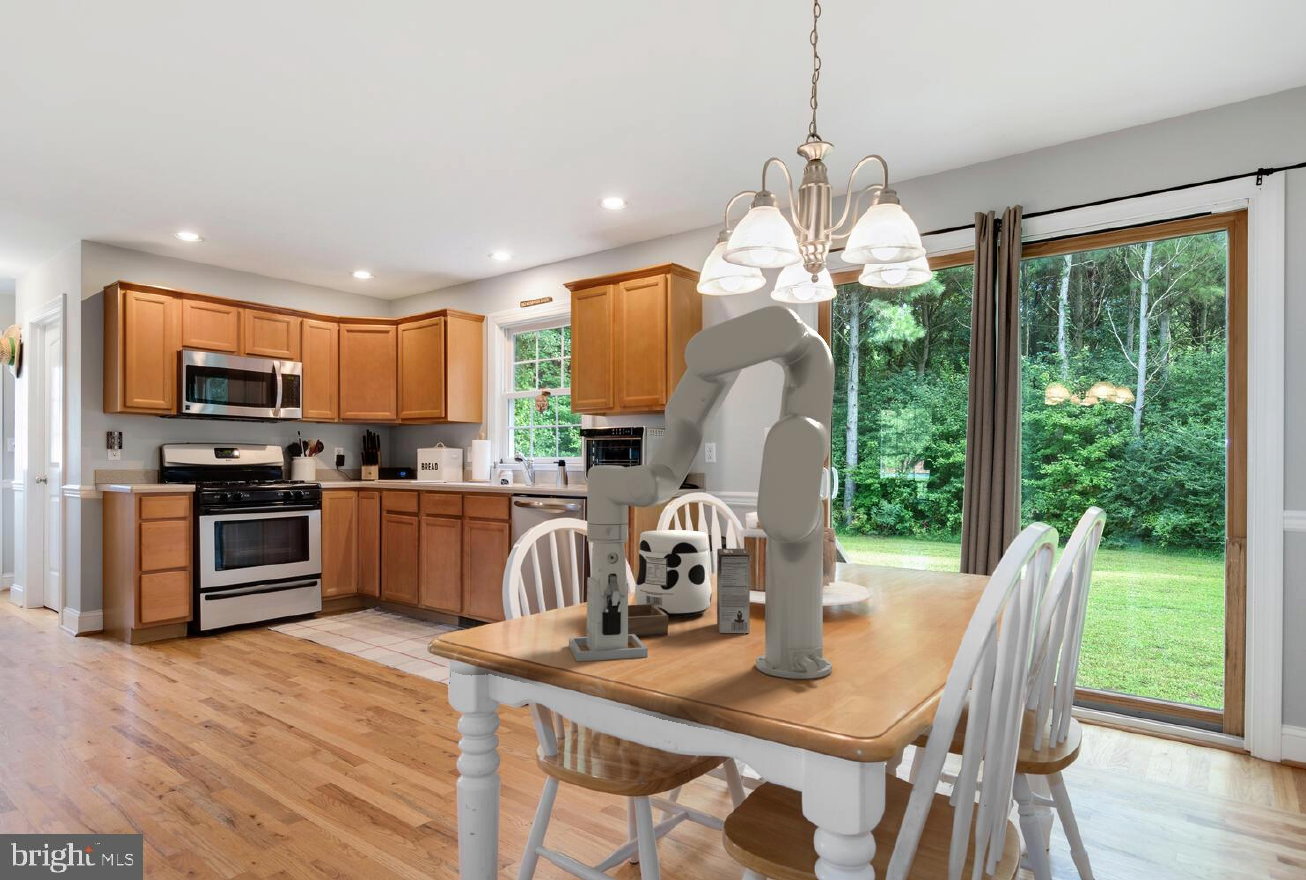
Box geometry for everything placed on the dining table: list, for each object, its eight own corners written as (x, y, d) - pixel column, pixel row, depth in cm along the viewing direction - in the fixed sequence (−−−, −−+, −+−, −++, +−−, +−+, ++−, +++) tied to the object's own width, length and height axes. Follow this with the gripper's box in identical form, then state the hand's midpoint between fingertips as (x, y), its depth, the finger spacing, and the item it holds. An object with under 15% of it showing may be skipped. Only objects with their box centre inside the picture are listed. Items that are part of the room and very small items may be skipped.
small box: (628, 656, 132) (628, 582, 133) (593, 658, 131) (593, 584, 131) (619, 644, 140) (619, 575, 140) (586, 646, 139) (586, 576, 139)
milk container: (703, 604, 177) (704, 529, 178) (718, 621, 160) (719, 537, 160) (631, 606, 175) (631, 529, 176) (638, 622, 158) (639, 538, 158)
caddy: (667, 636, 147) (668, 615, 147) (605, 639, 144) (605, 618, 144) (653, 622, 158) (653, 603, 158) (594, 625, 155) (595, 606, 155)
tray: (647, 656, 132) (647, 648, 132) (577, 661, 129) (577, 652, 129) (634, 641, 142) (634, 634, 142) (568, 645, 139) (568, 637, 139)
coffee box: (716, 623, 158) (716, 547, 158) (746, 623, 158) (746, 548, 158) (719, 634, 149) (719, 553, 149) (751, 634, 149) (751, 554, 149)
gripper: (638, 538, 128) (637, 639, 128) (618, 527, 145) (617, 617, 145) (595, 539, 126) (594, 641, 126) (579, 528, 143) (579, 619, 143)
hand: (606, 628), depth 136 cm, fingers closed on small box, 8 cm apart
